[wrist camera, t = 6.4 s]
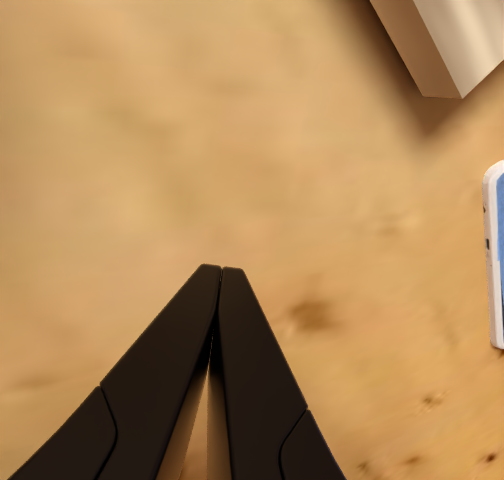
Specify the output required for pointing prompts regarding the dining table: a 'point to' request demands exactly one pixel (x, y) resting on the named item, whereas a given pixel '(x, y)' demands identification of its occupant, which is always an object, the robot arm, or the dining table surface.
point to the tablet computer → (495, 248)
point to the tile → (445, 41)
